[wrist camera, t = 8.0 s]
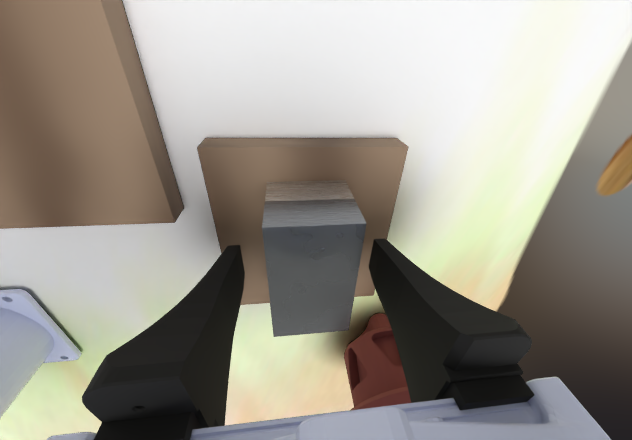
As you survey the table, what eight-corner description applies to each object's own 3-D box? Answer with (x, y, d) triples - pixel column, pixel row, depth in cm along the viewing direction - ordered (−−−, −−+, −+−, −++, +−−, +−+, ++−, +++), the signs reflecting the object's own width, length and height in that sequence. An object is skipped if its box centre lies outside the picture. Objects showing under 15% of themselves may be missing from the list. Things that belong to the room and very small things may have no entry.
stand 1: (-13, 213, 14) (-43, 230, 12) (-270, -103, 7) (-380, -134, 6) (183, 208, 15) (174, 222, 13) (100, -72, 9) (69, -93, 7)
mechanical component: (328, 367, 27) (320, 309, 21) (420, 352, 27) (436, 291, 22) (357, 562, 17) (355, 548, 11) (503, 533, 17) (574, 505, 11)
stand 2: (236, 288, 19) (233, 305, 17) (205, 138, 13) (197, 147, 11) (367, 280, 20) (373, 295, 19) (396, 138, 14) (408, 146, 12)
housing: (275, 279, 17) (273, 336, 13) (266, 181, 13) (262, 227, 9) (335, 275, 17) (348, 330, 14) (345, 180, 13) (366, 223, 10)
